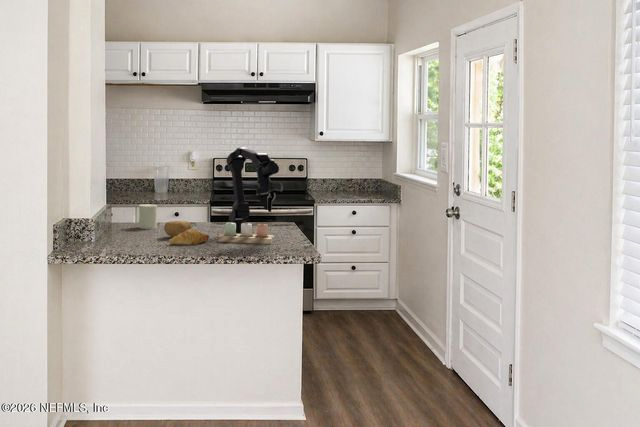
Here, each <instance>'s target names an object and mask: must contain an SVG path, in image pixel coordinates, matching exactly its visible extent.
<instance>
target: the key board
mask: <svg viewBox="0 0 640 427" xmlns="http://www.w3.org/2000/svg"><path fill="white" fill-rule="evenodd" d="M274 237H275V236H274V235H271V234H267V237H257V234H252V236H241V234H238V233H236V235H235V236H227V235H225V232H221V233H220V234H219V236H217V242H218V243H221V242H222V243H241V244H259V245H260V244H266V245H267V244H268V245H272V243H273V242H274Z"/></svg>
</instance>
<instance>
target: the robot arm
mask: <svg viewBox="0 0 640 427" xmlns="http://www.w3.org/2000/svg"><path fill="white" fill-rule="evenodd" d="M247 159H248V160H250V161H251V163H252V164H253V165H254V166H256V168H255V169H254V173H255V172H256V176H257V181H256V182H257V184H258V187H257V188H256V189H255V194H256V196H257V198H258V199H259V201H260V203H261V205H262V206H263V208H264V210H265V211H268V213H272V209H273V201H275V199H276V193H275V192H274V191H276V192H281V193H282V192H283V189H284V185H283V184H282V183H281V182H272V180H271V179H270V177H271V176H274V175H276V174H278V173H279V171H280V167H279V165H278V163H276V162H275V160H274V159H271V157H270V155H269V154H268V153H265V152H256V151H253V150H252V149H250V148H248V147H245V146H244V147H242V146H241V147H240V146H239V147H238V148H236V150H234V151H233V152H230V153H229V154H228V156H227V158H226V160H225V162H226V165H227V168H228V169H227V170H229V171H230V173H231V178H232V187H233V188H232V189H233V197H234V202H233V204H232V207H231V208H232V210H231V212H230V213H229V215H228V220H229V222H231V223H236V234H241V224H243V223H247V222H246V221H249V218H250V214H251V210H250V204H249V202H246V200H245V193H244V192H245V191H244V184H243V173H242V172H243V169H244V168H245V162H246V161H247Z"/></svg>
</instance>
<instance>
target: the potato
mask: <svg viewBox="0 0 640 427" xmlns="http://www.w3.org/2000/svg"><path fill="white" fill-rule="evenodd" d="M188 229H192V224H191V223H190V222H189V221H185V220H175V221H174V220H173V221H167V222H165V224H164V226H163V230H164V232H165V234H166V235H167V236H169V237H172V238H173V237H174V236H177V235H179V234H180V233H183V232H185V231H186V230H188Z"/></svg>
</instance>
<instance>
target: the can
mask: <svg viewBox="0 0 640 427" xmlns="http://www.w3.org/2000/svg"><path fill="white" fill-rule="evenodd" d="M157 219H158V205H157V204H152V203H150V204H139V205H138V228H139V229H142V230H144V229H145V230H154V229H157V228H158V227H157V226H158V225H157V224H158V223H157Z"/></svg>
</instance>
